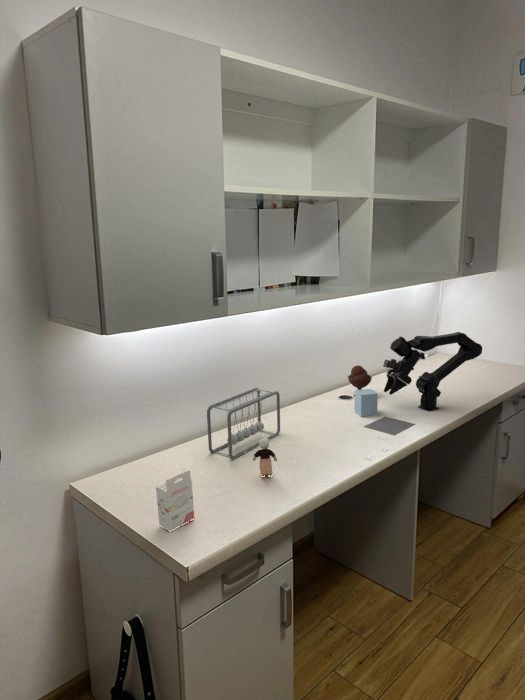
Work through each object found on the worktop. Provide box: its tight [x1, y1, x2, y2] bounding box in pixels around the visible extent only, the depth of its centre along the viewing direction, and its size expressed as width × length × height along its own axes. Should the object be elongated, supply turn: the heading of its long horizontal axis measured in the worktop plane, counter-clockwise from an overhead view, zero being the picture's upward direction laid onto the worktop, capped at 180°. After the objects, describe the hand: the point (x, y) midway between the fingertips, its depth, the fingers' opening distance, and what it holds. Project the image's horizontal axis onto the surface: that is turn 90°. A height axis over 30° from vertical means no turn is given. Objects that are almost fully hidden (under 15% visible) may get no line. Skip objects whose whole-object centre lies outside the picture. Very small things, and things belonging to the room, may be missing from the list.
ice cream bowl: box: [347, 365, 373, 398], centre depth 245 cm, size 11×11×15 cm
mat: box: [363, 416, 416, 436], centre depth 207 cm, size 16×14×1 cm
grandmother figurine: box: [252, 437, 278, 476], centre depth 166 cm, size 8×4×13 cm, turn 99°
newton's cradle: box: [206, 387, 281, 460], centre depth 192 cm, size 30×10×18 cm, turn 143°
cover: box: [354, 388, 379, 418], centre depth 220 cm, size 7×7×10 cm
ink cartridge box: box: [155, 469, 195, 531], centre depth 139 cm, size 9×5×15 cm, turn 138°
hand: (387, 392), depth 221 cm, fingers open, 9 cm apart
